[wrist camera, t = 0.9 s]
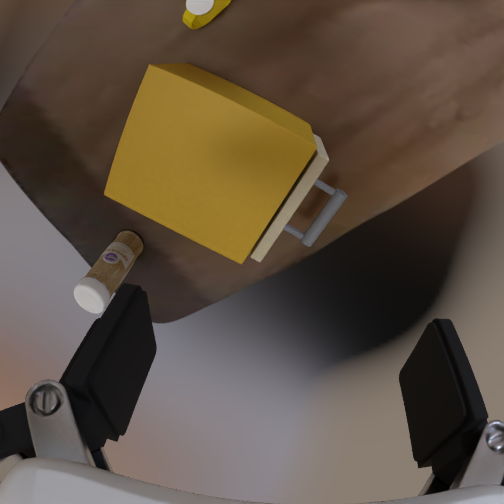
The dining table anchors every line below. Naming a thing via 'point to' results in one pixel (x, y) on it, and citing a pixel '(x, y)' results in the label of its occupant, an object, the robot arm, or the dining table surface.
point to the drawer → (294, 200)
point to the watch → (202, 11)
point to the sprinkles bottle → (108, 272)
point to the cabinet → (207, 157)
